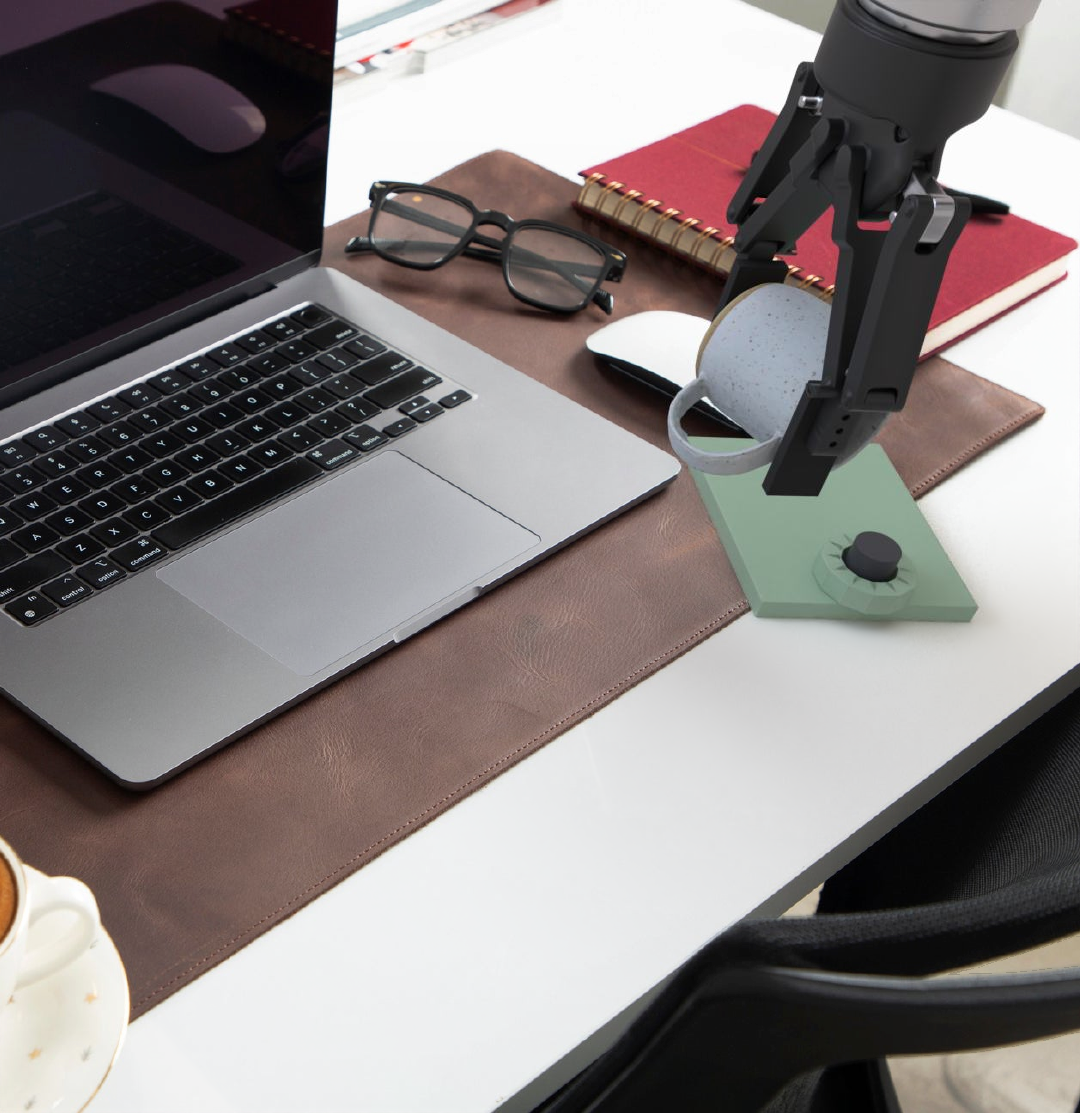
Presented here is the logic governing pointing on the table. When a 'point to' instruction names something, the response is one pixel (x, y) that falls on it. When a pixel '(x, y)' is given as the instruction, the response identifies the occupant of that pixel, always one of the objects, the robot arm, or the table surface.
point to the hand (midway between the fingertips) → (754, 425)
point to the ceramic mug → (761, 376)
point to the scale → (830, 543)
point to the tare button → (873, 556)
